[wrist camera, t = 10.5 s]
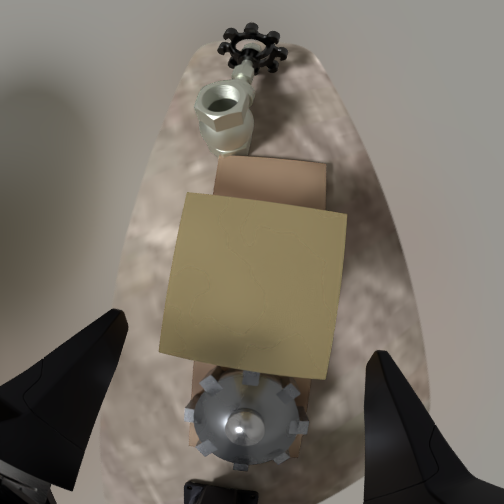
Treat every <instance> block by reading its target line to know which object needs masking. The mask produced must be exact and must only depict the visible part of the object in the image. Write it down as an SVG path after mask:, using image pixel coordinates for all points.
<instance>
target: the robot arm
mask: <svg viewBox="0 0 504 504" xmlns="http://www.w3.org/2000/svg"><path fill="white" fill-rule="evenodd" d="M127 332H128V323H127V320H126V317H125V314H124V312H123V311H122V310H119V309H111V310H110V311H108V312H107V313H105V314H104V315H102V316H101V317H100V318H98V319H97V320H95V321H94V322H92V323H91V324H90V325H88V326H87V327H85V328H84V329H83V330H81V331H80V332H78V333H77V334H76V335H74V336H73V337H71V338H70V339H69V340H67V341H66V342H64V343H63V344H62V345H60V346H59V347H58V348H56V349H55V350H53V351H52V352H51V353H49V354H48V355H47V356H46V357H44V359H41V360H40V361H38V362H37V363H36V364H34V365H33V366H32V367H30V368H29V369H28V370H26V371H24V372H23V373H21V374H19V375H18V376H16V377H15V378H13V379H11V380H10V381H8V382H6V383H5V384H3V385H1V386H0V504H57V503H56V501H55V499H54V496H53V494H52V492H51V489H50V487H51V484H53V485H56V486H58V487H61V488H64V489H66V490H69V491H73V489H74V486H75V482H76V479H77V476H78V472H79V469H80V466H81V462H82V459H83V456H84V453H85V449H86V447H87V444H88V441H89V438H90V435H91V432H92V429H93V427H94V424H95V421H96V418H97V416H98V413H99V410H100V408H101V405H102V402H103V400H104V397H105V395H106V392H107V390H108V387H109V385H110V382H111V380H112V377H113V375H114V372H115V370H116V367H117V365H118V362H119V358H120V355H121V352H122V348H123V345H124V342H125V339H126V335H127ZM364 420H365V481H364V502H363V504H504V489H503V488H500V487H498V486H495V485H493V484H490V483H487V482H485V481H482V480H480V479H478V478H476V477H475V476H473V475H472V474H471V473H470V472H469V471H468V470H467V468H466V467H465V466H464V464H463V463H462V462H461V460H460V459H459V458H458V457H457V455H456V454H455V452H454V451H453V450H452V448H451V447H450V446H449V444H448V443H447V441H446V440H445V438H444V437H443V435H442V434H441V432H440V431H439V429H438V428H437V426H436V425H435V423H434V421H433V420H432V418H431V416H430V415H429V413H428V412H427V410H426V408H425V407H424V405H423V404H422V402H421V401H420V399H419V398H418V396H417V395H416V393H415V391H414V390H413V388H412V387H411V385H410V384H409V382H408V381H407V379H406V378H405V376H404V375H403V374H402V372H401V371H400V369H399V368H398V366H397V365H396V363H395V362H394V360H393V359H392V357H391V356H390V355H389V353H388V352H387V351H385V350H376V351H375V352H374V354H373V355H372V357H371V358H370V360H369V361H368V363H367V365H366V379H365V397H364ZM188 486H190V487H192V488H190V487H188ZM252 495H253V496H254V497H252ZM258 496H259V495H258V493H257V492H255V491H246V490H236V489H228V488H221V487H215V486H209V485H203V484H198V483H193V482H186V483H185V485H184V504H257V503H258Z"/></svg>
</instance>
